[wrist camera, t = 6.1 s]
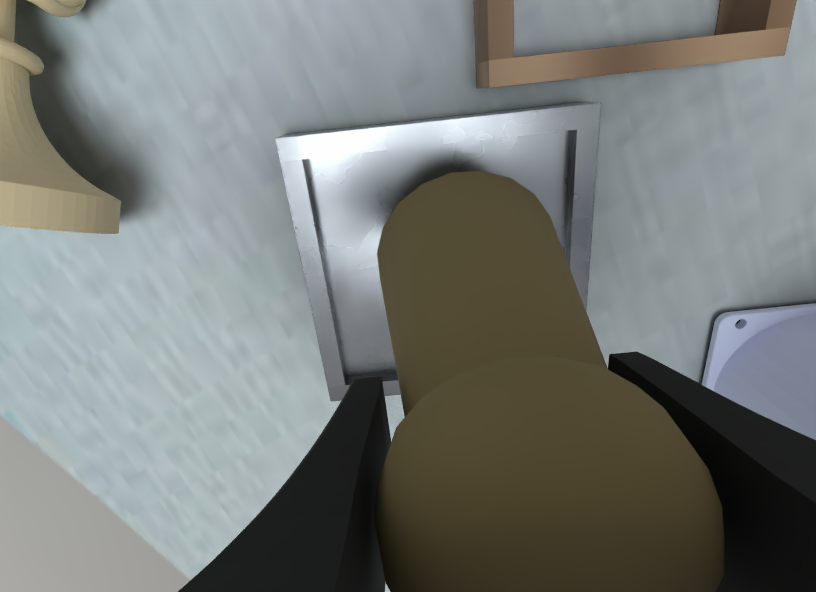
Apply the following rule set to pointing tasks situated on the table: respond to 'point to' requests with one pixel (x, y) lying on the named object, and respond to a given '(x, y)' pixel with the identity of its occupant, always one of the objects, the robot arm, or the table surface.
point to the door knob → (40, 148)
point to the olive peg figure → (522, 418)
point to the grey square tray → (393, 181)
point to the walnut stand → (734, 40)
